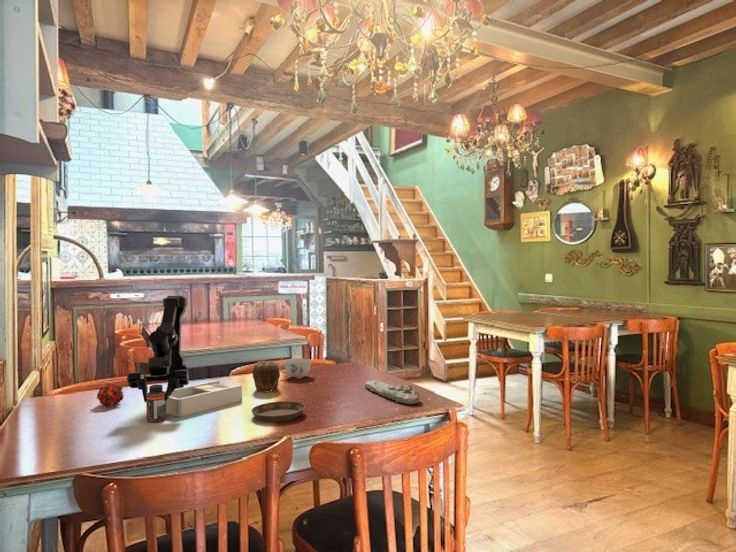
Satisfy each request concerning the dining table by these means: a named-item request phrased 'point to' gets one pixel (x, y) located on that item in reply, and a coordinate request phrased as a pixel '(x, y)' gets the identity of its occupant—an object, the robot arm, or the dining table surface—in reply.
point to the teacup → (296, 367)
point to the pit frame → (200, 399)
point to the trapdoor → (210, 387)
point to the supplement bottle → (156, 404)
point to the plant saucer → (278, 411)
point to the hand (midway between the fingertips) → (155, 401)
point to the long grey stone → (394, 391)
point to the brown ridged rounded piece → (266, 375)
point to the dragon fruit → (110, 394)
